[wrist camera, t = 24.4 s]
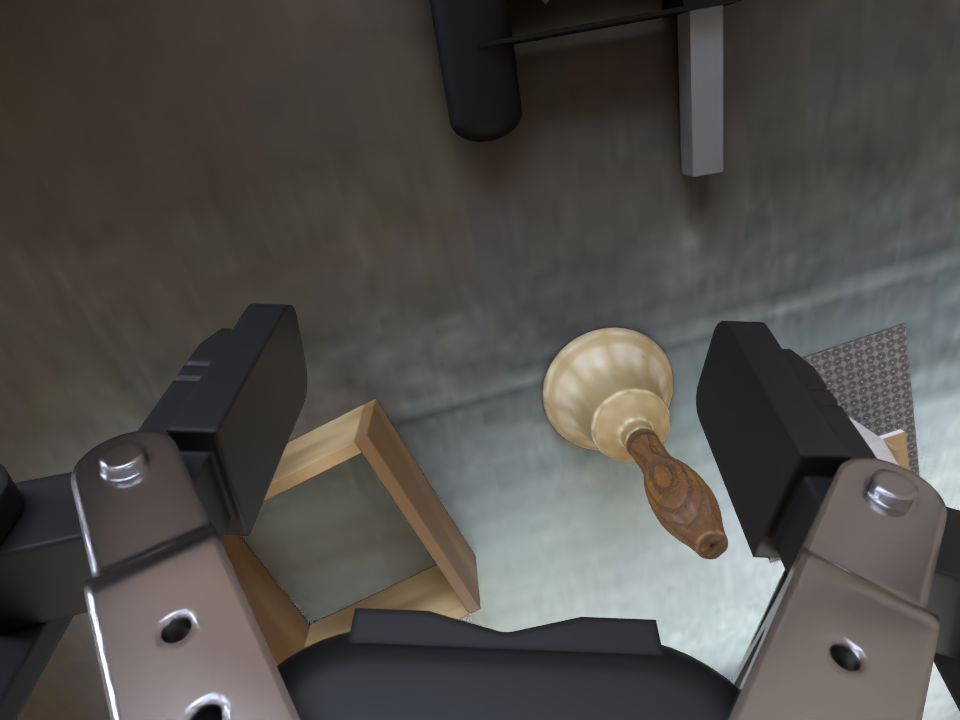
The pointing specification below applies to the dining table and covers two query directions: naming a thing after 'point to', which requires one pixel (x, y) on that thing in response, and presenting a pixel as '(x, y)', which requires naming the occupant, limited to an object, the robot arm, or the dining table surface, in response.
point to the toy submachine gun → (489, 43)
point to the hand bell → (632, 425)
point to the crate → (374, 436)
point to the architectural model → (874, 392)
